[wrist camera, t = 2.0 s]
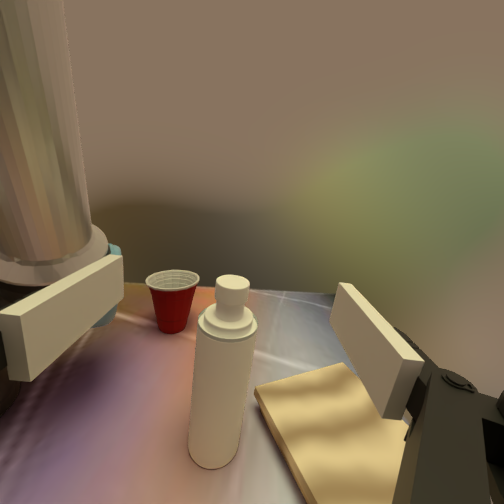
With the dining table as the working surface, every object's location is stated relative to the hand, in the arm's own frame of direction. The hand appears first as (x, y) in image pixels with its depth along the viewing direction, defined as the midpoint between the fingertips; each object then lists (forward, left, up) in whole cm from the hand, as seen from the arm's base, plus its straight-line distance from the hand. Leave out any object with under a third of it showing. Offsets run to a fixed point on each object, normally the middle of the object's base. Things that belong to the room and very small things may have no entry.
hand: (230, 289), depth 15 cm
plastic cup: (-36, +2, -28) cm, 46 cm away
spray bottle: (-9, +4, -28) cm, 29 cm away
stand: (-3, +20, -27) cm, 34 cm away
